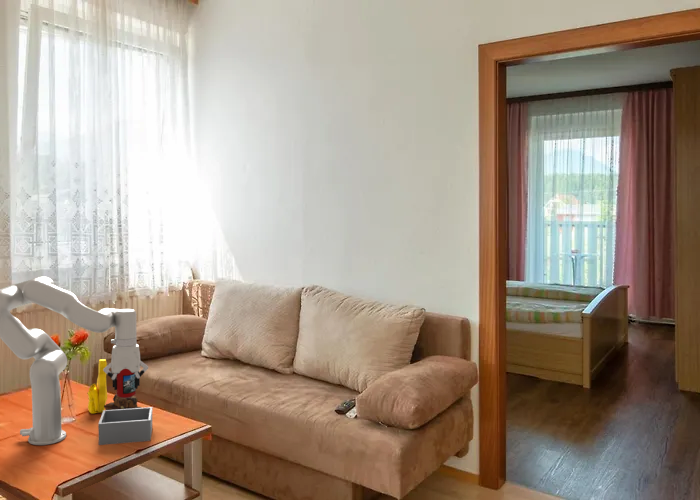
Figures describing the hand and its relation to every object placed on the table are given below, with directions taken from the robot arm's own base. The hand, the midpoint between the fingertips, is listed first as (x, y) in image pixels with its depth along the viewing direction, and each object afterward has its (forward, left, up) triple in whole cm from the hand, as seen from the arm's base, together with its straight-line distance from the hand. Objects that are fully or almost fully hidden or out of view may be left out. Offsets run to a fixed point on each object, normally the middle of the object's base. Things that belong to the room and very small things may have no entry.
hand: (126, 388), depth 222 cm
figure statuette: (-14, +29, -19) cm, 37 cm away
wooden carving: (-3, +19, -19) cm, 27 cm away
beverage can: (0, 0, -3) cm, 3 cm away
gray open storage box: (0, 0, -19) cm, 19 cm away
